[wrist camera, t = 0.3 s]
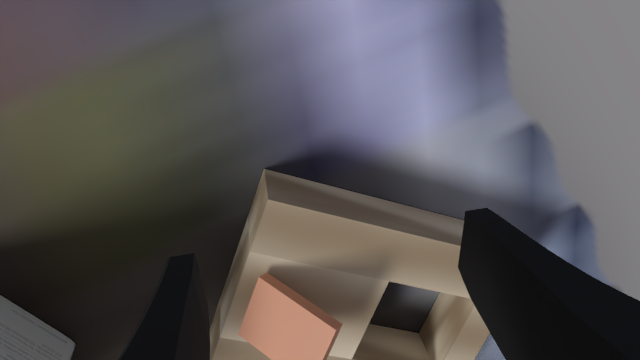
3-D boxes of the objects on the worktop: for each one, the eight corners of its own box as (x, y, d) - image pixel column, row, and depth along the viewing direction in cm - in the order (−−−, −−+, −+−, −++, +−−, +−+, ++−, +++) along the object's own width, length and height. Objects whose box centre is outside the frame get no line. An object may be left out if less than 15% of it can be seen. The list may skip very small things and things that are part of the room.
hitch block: (424, 370, 32) (442, 412, 29) (207, 335, 28) (205, 379, 25) (502, 230, 28) (531, 263, 25) (264, 168, 24) (268, 199, 22)
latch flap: (316, 381, 23) (309, 388, 22) (245, 328, 24) (237, 334, 24) (342, 324, 22) (336, 330, 21) (266, 272, 23) (258, 276, 23)
